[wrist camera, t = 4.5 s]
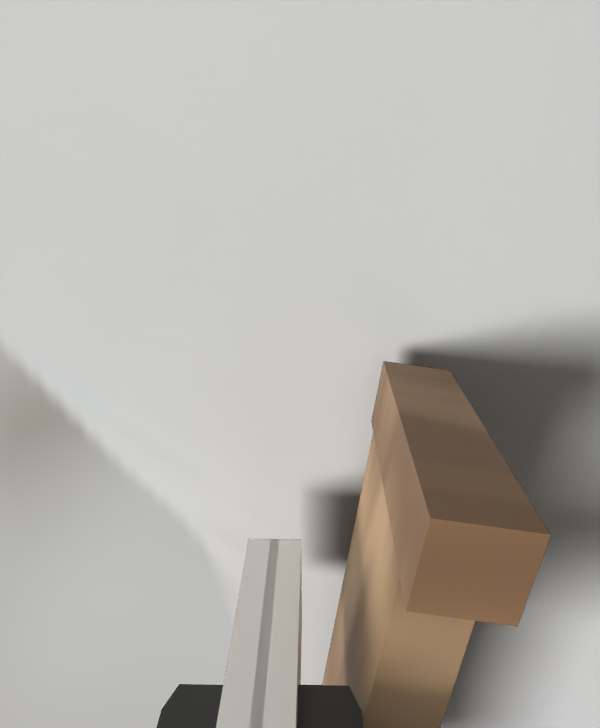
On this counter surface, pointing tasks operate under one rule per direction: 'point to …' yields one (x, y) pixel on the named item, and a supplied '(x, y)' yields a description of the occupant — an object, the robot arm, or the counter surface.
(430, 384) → the gate
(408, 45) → the counter surface
